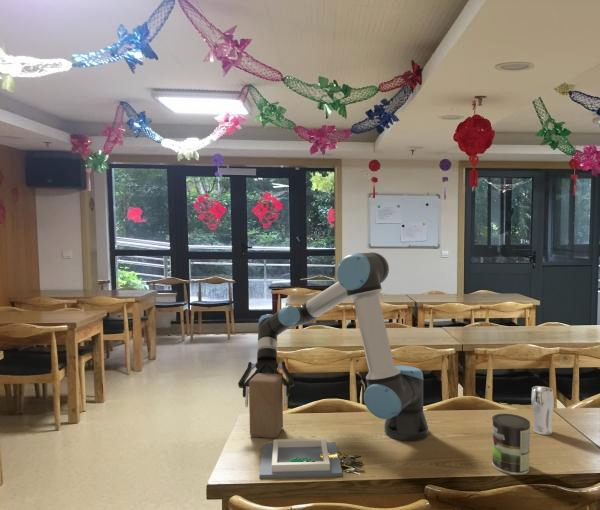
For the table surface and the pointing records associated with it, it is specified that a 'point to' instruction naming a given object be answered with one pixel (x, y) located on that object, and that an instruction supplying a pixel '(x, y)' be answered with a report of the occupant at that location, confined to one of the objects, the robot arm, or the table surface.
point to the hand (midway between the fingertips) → (265, 405)
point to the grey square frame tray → (282, 450)
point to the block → (266, 405)
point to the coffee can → (511, 444)
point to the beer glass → (542, 409)
